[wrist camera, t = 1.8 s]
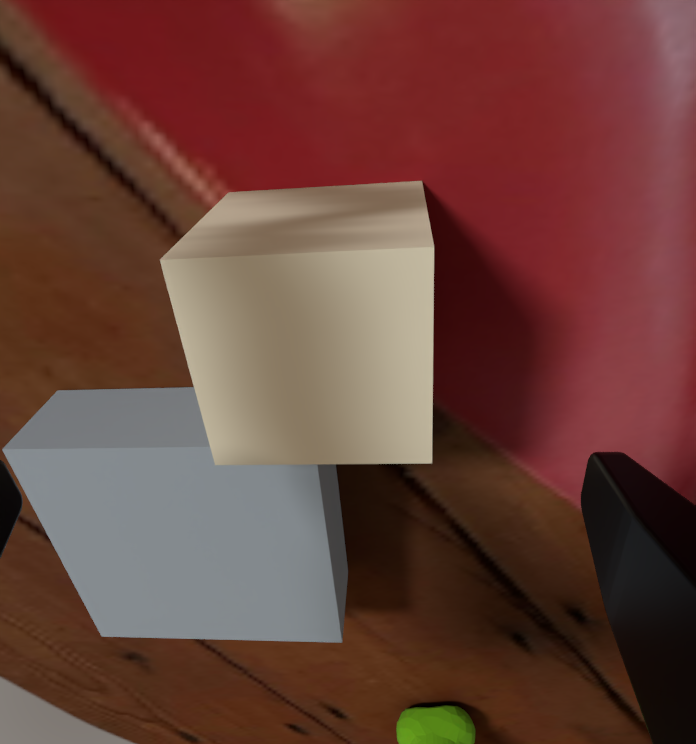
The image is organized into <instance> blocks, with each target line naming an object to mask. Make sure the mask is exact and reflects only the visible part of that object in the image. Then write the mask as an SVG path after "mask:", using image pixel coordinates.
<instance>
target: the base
mask: <svg viewBox="0 0 696 744" xmlns="http://www.w3.org/2000/svg"><path fill="white" fill-rule="evenodd" d="M2 450H3V452H4V454H5V456H6V458H7V459H8V461H9V463H10V465H11V467H12V469H13V471H14V473H15V474H16V476H17V478H18V480H19V482H20V484H21V486H22V488H23V489H24V491H25V493H26V495H27V497H28V499H29V501H30V503H31V505H32V506H33V508H34V510H35V512H36V514H37V516H38V518H39V520H40V521H41V523H42V525H43V527H44V529H45V531H46V533H47V535H48V536H49V538H50V540H51V542H52V544H53V546H54V548H55V550H56V552H57V553H58V555H59V557H60V559H61V561H62V563H63V565H64V567H65V568H66V570H67V572H68V574H69V576H70V578H71V580H72V582H73V584H74V585H75V587H76V589H77V591H78V593H79V595H80V597H81V599H82V600H83V602H84V604H85V606H86V608H87V610H88V612H89V614H90V615H91V617H92V619H93V621H94V623H95V625H96V627H97V629H98V631H99V632H100V634H101V636H102V637H142V638H182V639H221V640H261V641H301V642H341V643H342V638H343V627H344V615H345V603H346V592H347V580H348V565H347V556H346V548H345V539H344V530H343V522H342V513H341V504H340V496H339V487H338V479H337V470H336V464H307V465H215V463H214V459H213V456H212V452H211V448H210V444H209V441H208V437H207V433H206V430H205V426H204V422H203V419H202V415H201V411H200V407H199V404H198V400H197V396H196V393H195V389H194V387H185V388H143V389H101V390H60V391H57V392H56V393H55V394H54V395H53V396H52V397H51V398H50V399H49V400H48V401H47V402H46V403H45V404H44V406H43V407H42V408H41V409H40V410H39V411H38V412H37V413H36V414H35V415H34V416H33V417H32V418H31V419H30V420H29V421H28V423H27V424H26V425H25V426H24V427H23V428H22V429H21V430H20V431H19V432H18V433H17V434H16V435H15V436H14V437H13V438H12V440H11V441H10V442H9V443H8V444H7V445H6V446H5V447H4V448H3V449H2Z"/></svg>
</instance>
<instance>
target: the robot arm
mask: <svg viewBox="0 0 696 744" xmlns="http://www.w3.org/2000/svg"><path fill="white" fill-rule="evenodd" d="M581 508H582V513H583V518H584V522H585V526H586V530H587V535H588V539H589V543H590V547H591V552H592V556H593V560H594V564H595V569H596V573H597V577H598V582H599V586H600V590H601V594H602V598H603V602H604V606H605V610H606V613H607V616H608V619H609V622H610V625H611V628H612V631H613V634H614V637H615V639H616V642H617V645H618V648H619V651H620V653H621V656H622V659H623V662H624V664H625V667H626V670H627V673H628V676H629V678H630V681H631V684H632V687H633V690H634V692H635V695H636V698H637V701H638V703H639V706H640V709H641V712H642V715H643V717H644V720H645V723H646V726H647V728H648V731H649V734H650V737H651V740H652V742H653V744H696V505H694V504H693V503H691V502H690V501H689V500H687V499H686V498H685V497H683V496H682V495H681V494H679V493H678V492H676V491H675V490H674V489H672V488H671V487H670V486H668V485H667V484H666V483H664V482H663V481H661V480H660V479H659V478H657V477H656V476H655V475H653V474H652V473H651V472H649V471H648V470H646V469H645V468H644V467H642V466H641V465H640V464H638V463H637V462H635V461H634V460H633V459H631V458H630V457H629V456H627V455H626V454H624V453H621V452H595V453H593V454H591V455H590V457H589V459H588V463H587V468H586V473H585V478H584V483H583V487H582V492H581ZM21 509H22V495H21V493H20V491H19V489H18V487H17V485H16V483H15V481H14V480H13V478H12V476H11V474H10V472H9V470H8V469H7V467H6V465H5V464H4V462H2V461H1V460H0V558H1V555H2V553H3V551H4V548H5V546H6V544H7V542H8V539H9V537H10V535H11V532H12V530H13V528H14V526H15V523H16V521H17V519H18V516H19V514H20V512H21Z"/></svg>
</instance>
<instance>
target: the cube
mask: <svg viewBox="0 0 696 744" xmlns="http://www.w3.org/2000/svg"><path fill="white" fill-rule="evenodd" d="M160 263H161V266H162V270H163V274H164V277H165V281H166V285H167V289H168V292H169V296H170V300H171V303H172V307H173V311H174V315H175V318H176V322H177V326H178V329H179V333H180V337H181V341H182V344H183V348H184V352H185V355H186V359H187V363H188V367H189V370H190V374H191V378H192V381H193V385H194V389H195V393H196V396H197V400H198V404H199V407H200V411H201V415H202V419H203V422H204V426H205V430H206V433H207V437H208V441H209V444H210V448H211V452H212V456H213V459H214V463H215V465H307V464H430V463H432V429H433V324H434V243H433V237H432V232H431V227H430V221H429V216H428V211H427V205H426V200H425V194H424V189H423V184H422V181H412V182H395V183H378V184H362V185H345V186H328V187H311V188H295V189H278V190H261V191H245V192H229V193H228V194H227V195H226V196H225V197H224V198H223V199H221V200H220V201H219V202H218V203H217V204H216V205H215V206H214V207H213V208H212V209H211V210H210V211H209V212H208V213H207V214H206V215H205V216H204V217H203V218H202V219H201V220H200V221H199V222H198V223H197V224H196V225H195V226H194V227H193V228H192V229H191V230H190V231H189V232H188V233H187V234H186V235H185V236H184V237H183V238H182V239H181V240H180V241H179V242H178V243H177V244H176V245H174V246H173V247H172V248H171V249H170V250H169V251H168V252H167V253H166V254H165V255H164V256H163V257H162V258H161V259H160Z"/></svg>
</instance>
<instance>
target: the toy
mask: <svg viewBox="0 0 696 744" xmlns="http://www.w3.org/2000/svg"><path fill="white" fill-rule="evenodd" d="M396 731H397V740H398V742H399V744H474V743H475V727H474V724H473V722H472V720H471V718H470V716H469V715H468V714H467V713H466V712H465V711H464V710H463V709H462V708H460V707H458V706H447V705H445V706H437V707H429V708H427V707H414V708H408V709H405V710H404V711H403V712H402V713H401V716H400V718H399V720H398V722H397V729H396Z"/></svg>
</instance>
